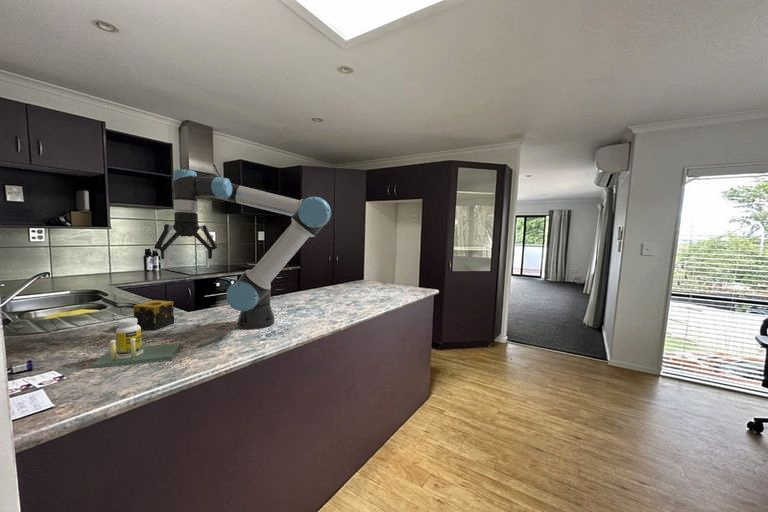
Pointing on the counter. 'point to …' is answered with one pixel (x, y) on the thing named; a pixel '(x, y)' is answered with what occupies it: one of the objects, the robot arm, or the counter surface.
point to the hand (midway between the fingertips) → (187, 267)
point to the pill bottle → (128, 336)
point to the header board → (144, 356)
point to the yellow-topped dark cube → (154, 314)
